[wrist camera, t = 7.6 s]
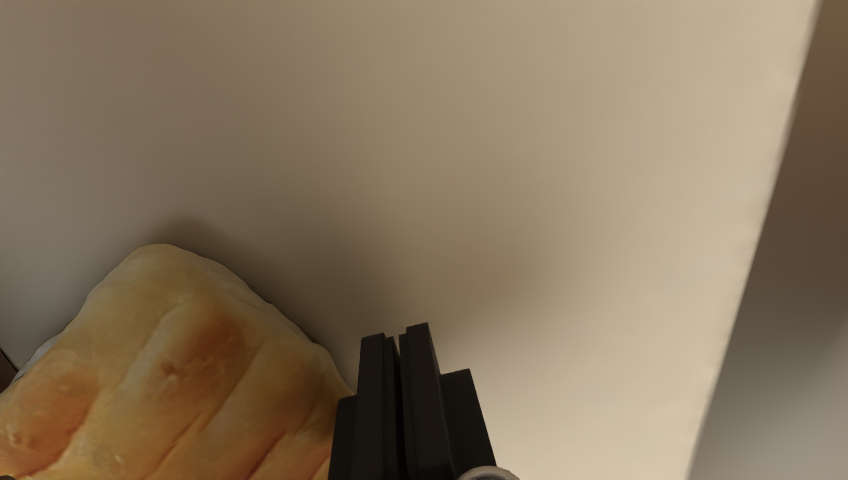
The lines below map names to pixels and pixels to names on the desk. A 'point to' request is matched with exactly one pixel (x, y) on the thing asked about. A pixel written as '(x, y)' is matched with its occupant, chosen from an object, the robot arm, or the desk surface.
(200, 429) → the pastry
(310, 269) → the desk surface
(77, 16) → the desk surface
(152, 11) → the desk surface
